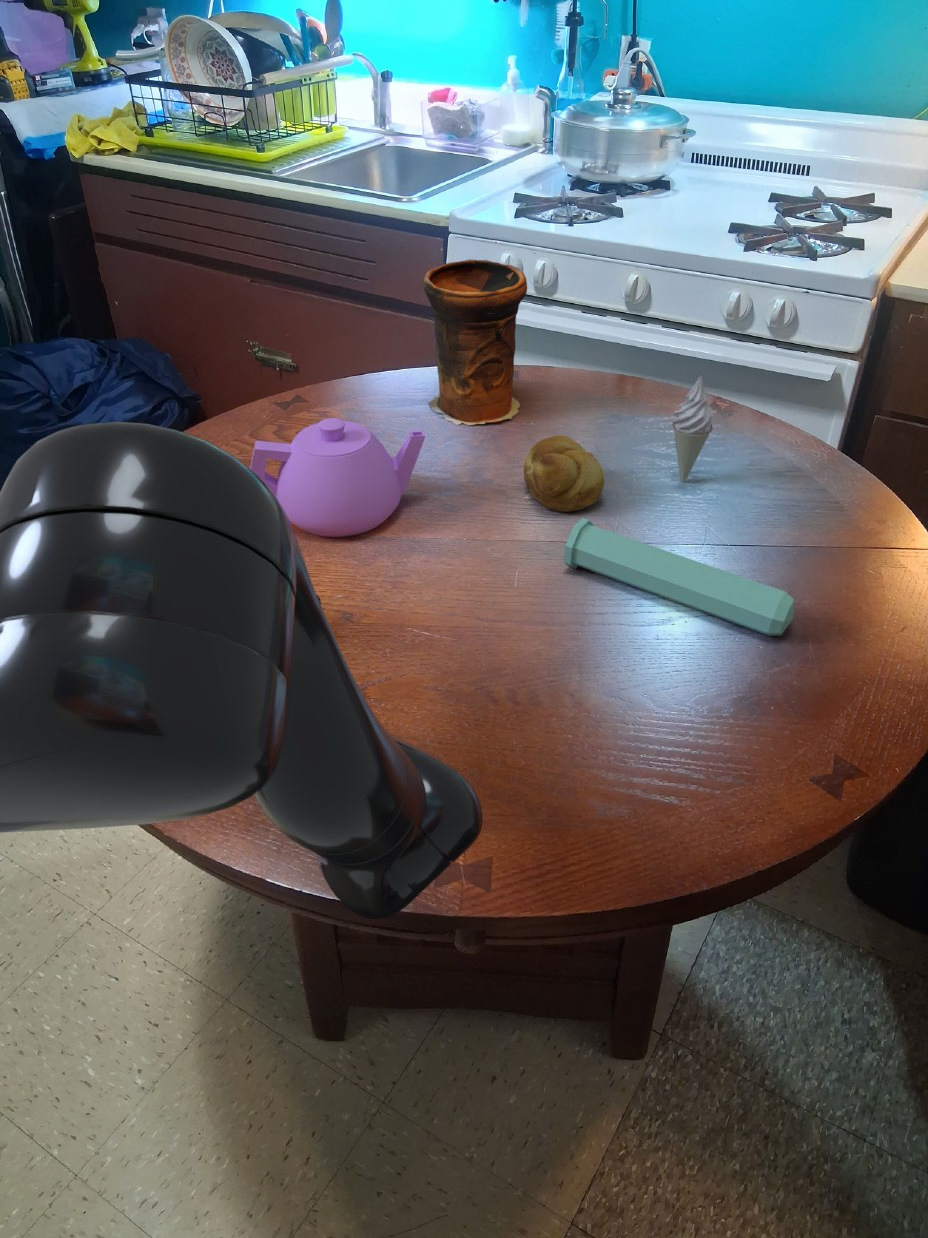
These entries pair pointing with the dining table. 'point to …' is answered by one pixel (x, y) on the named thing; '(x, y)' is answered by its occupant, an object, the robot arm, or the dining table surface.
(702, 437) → the ice cream cone
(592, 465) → the bread roll
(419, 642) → the dining table surface
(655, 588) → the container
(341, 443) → the teapot
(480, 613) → the dining table surface
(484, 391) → the vessel
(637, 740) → the dining table surface
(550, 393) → the dining table surface
